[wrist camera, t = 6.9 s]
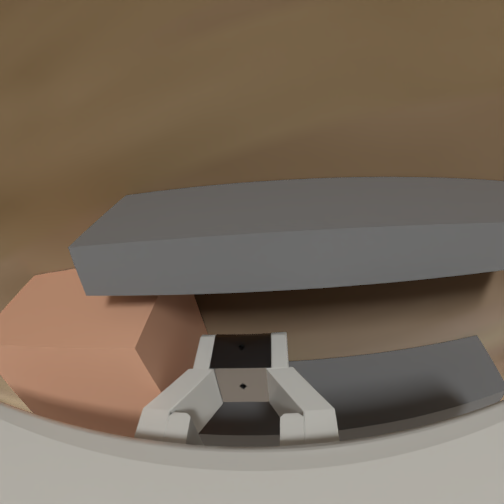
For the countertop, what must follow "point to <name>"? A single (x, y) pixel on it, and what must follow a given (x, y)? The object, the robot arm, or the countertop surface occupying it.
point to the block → (95, 350)
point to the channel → (315, 280)
